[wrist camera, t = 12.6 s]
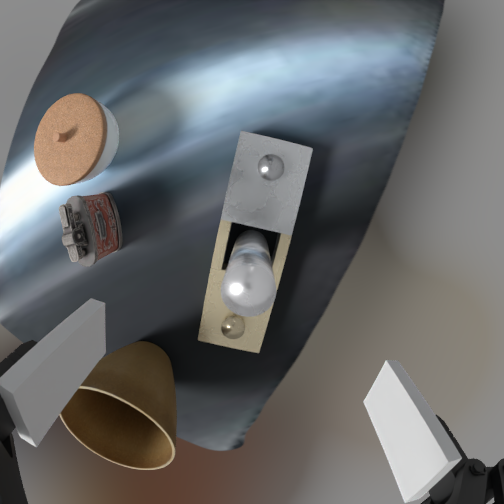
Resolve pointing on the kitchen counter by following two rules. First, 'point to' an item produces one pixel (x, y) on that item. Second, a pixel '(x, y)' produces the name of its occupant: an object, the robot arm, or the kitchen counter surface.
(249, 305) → the pin
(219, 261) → the frame
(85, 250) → the lighter
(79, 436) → the plant pot
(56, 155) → the lidded jar
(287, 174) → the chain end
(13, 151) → the kitchen counter surface
